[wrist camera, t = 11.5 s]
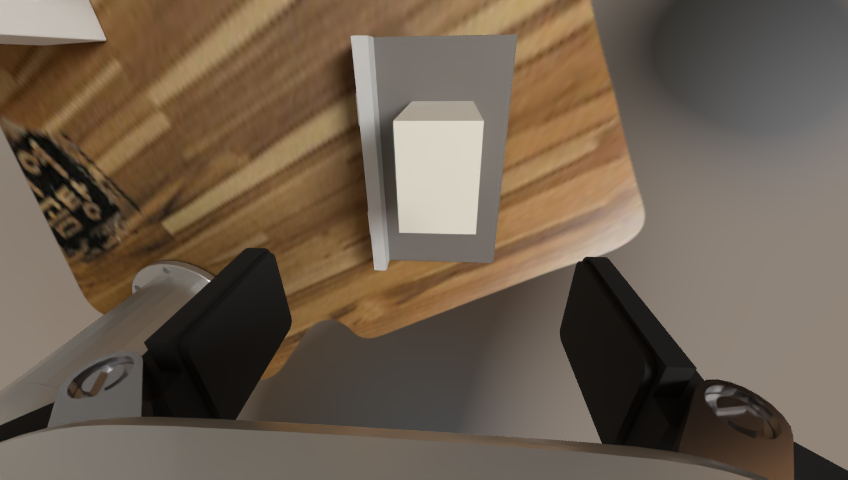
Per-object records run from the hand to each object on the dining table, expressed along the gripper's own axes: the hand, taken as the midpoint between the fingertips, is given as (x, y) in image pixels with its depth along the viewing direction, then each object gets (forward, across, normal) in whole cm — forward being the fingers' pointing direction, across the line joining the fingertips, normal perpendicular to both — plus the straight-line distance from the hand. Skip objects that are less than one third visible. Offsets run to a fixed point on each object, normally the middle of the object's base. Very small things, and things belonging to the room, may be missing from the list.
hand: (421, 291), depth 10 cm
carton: (+21, 0, 0) cm, 21 cm away
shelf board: (+22, 0, +2) cm, 22 cm away
